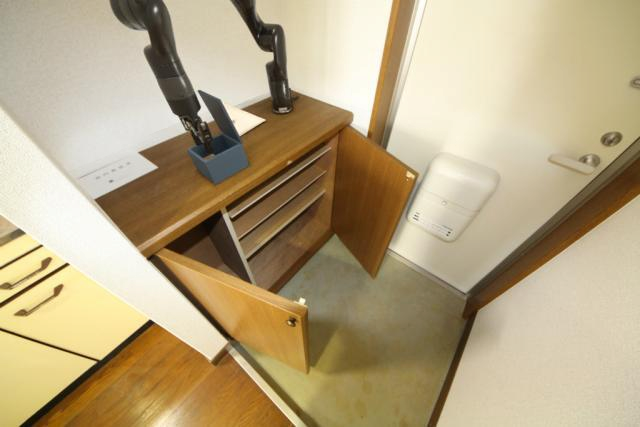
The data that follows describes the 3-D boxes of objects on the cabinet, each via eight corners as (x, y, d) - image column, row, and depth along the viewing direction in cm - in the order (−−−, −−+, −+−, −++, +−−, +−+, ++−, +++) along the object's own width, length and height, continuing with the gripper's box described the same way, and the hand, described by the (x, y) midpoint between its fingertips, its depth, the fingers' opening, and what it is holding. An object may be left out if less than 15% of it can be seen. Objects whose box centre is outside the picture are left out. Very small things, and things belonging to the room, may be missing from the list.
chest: (215, 184, 74) (204, 162, 67) (197, 170, 79) (186, 149, 73) (249, 165, 81) (242, 143, 74) (230, 153, 86) (222, 132, 79)
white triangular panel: (255, 103, 103) (214, 103, 90) (263, 102, 99) (221, 101, 86) (262, 137, 109) (224, 142, 95) (269, 136, 105) (231, 141, 91)
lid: (218, 100, 61) (220, 99, 62) (197, 90, 67) (199, 89, 67) (240, 143, 73) (242, 141, 74) (221, 131, 79) (223, 130, 79)
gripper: (206, 95, 57) (227, 151, 70) (180, 83, 64) (204, 136, 76) (178, 104, 54) (206, 162, 66) (153, 90, 60) (183, 145, 73)
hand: (205, 148), depth 71 cm, fingers open, 6 cm apart
